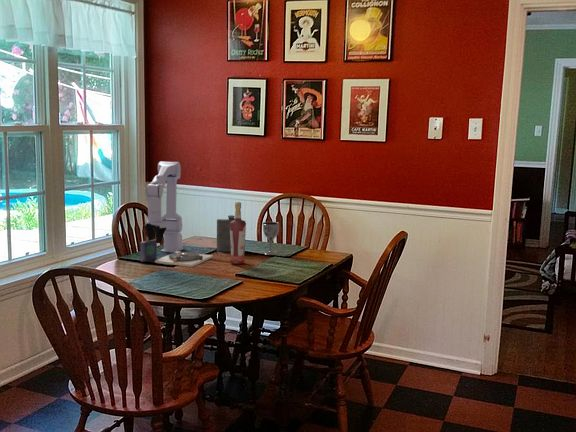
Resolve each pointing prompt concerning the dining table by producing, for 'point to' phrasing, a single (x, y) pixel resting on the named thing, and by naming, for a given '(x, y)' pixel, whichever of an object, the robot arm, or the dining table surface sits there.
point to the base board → (184, 263)
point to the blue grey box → (148, 250)
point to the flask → (224, 234)
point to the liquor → (237, 237)
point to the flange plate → (183, 256)
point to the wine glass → (270, 234)
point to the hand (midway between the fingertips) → (154, 241)
